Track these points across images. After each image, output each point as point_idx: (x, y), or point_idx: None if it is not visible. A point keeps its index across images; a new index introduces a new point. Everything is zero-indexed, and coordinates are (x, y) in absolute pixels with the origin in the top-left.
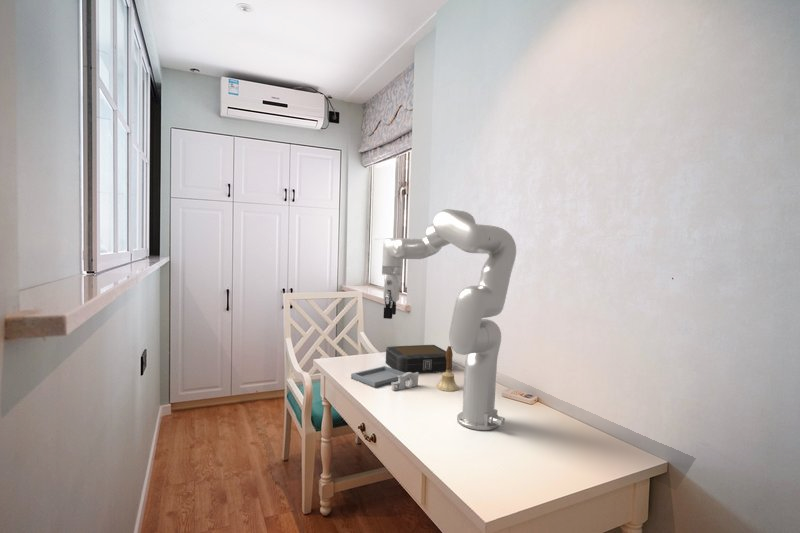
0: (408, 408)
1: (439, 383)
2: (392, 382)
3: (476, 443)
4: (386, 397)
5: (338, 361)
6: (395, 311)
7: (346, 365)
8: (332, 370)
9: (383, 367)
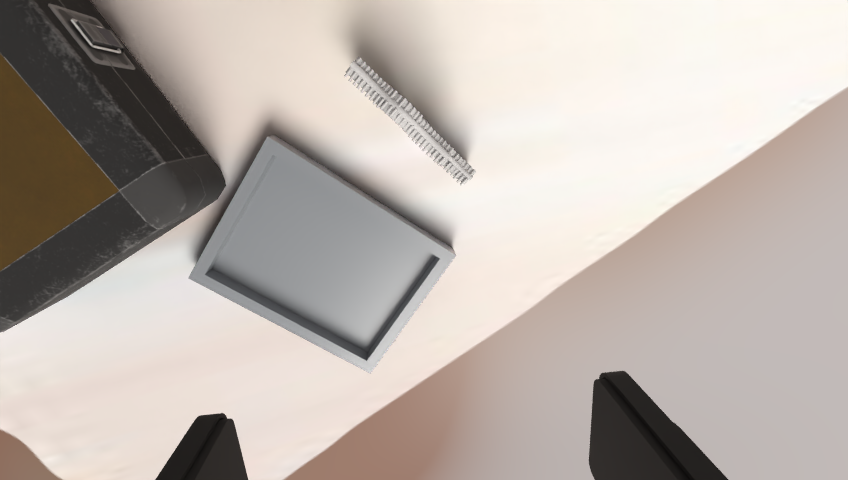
0: (649, 66)
1: None
2: (466, 178)
3: None
4: (548, 177)
5: None
6: (201, 448)
7: None
8: (298, 451)
9: (211, 277)
